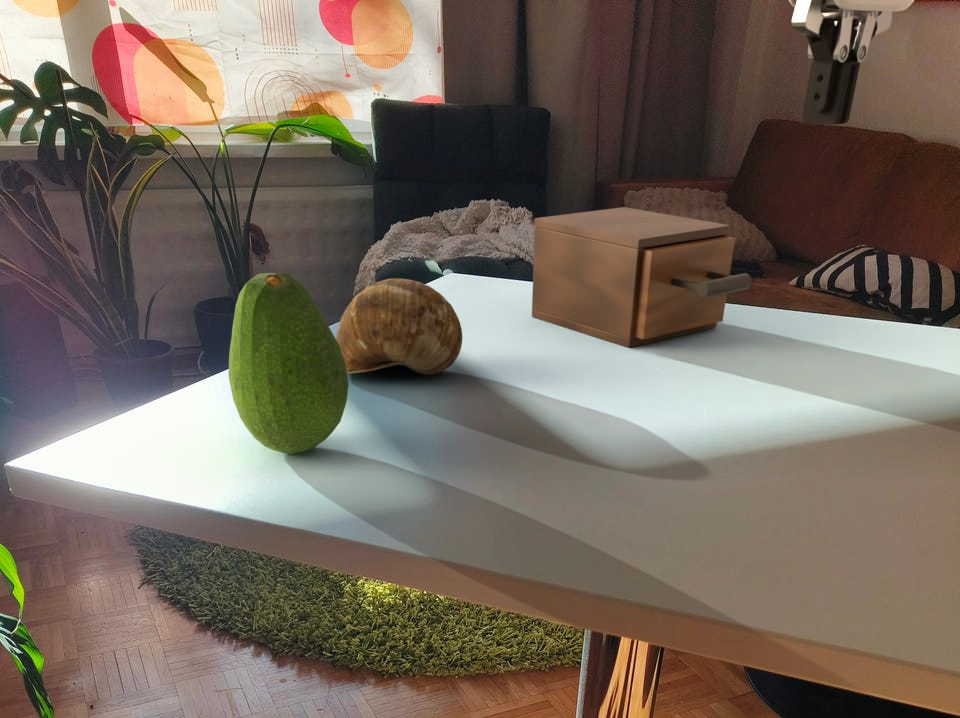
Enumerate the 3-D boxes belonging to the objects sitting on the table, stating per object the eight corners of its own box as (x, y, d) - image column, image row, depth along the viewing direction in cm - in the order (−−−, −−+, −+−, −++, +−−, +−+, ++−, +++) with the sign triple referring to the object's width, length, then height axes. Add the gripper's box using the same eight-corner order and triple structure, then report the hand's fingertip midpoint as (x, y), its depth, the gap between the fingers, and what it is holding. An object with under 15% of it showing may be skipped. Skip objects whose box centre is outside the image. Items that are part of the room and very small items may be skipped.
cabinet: (716, 327, 91) (731, 225, 86) (628, 347, 85) (639, 239, 80) (616, 300, 101) (624, 207, 96) (531, 316, 95) (534, 218, 90)
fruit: (375, 440, 65) (363, 265, 58) (315, 480, 59) (294, 290, 52) (283, 423, 68) (262, 255, 61) (217, 460, 62) (185, 278, 55)
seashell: (478, 366, 80) (479, 272, 76) (435, 398, 73) (432, 296, 69) (368, 352, 84) (361, 261, 79) (316, 381, 77) (306, 283, 72)
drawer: (760, 331, 87) (775, 245, 82) (680, 351, 81) (692, 259, 77) (628, 296, 99) (634, 219, 94) (550, 311, 93) (553, 230, 89)
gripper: (869, -223, 53) (805, 130, 63) (996, -189, 61) (921, 122, 71) (766, -200, 58) (723, 124, 68) (895, -172, 66) (839, 116, 76)
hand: (824, 122), depth 70 cm, fingers closed
